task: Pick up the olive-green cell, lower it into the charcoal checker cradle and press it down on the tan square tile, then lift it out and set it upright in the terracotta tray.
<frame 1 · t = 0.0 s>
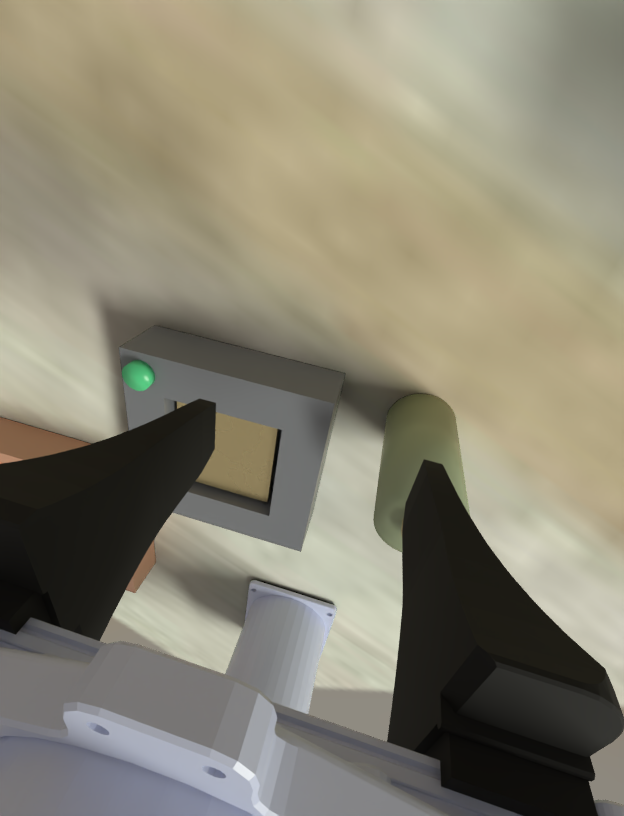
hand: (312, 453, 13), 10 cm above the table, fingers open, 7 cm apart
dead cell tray: (83, 495, 35), on the table
tan square tile: (226, 451, 25), point 3 cm above the table, slide at -0.2 cm
checker cradle: (241, 428, 27), on the table
olive cell: (420, 423, 23), on the table
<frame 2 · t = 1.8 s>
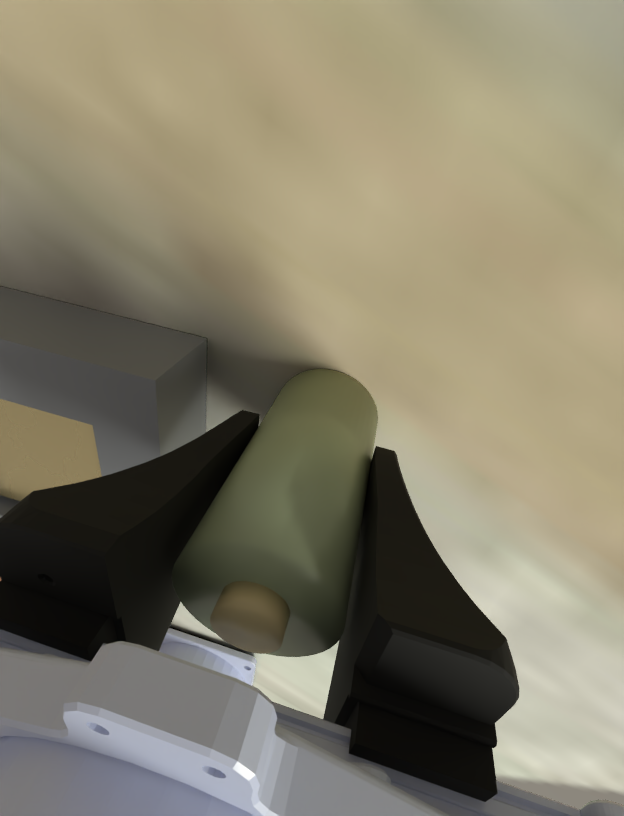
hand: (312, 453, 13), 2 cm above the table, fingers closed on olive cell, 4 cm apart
tan square tile: (45, 457, 17), point 3 cm above the table, slide at -0.2 cm
checker cradle: (87, 424, 19), on the table
olive cell: (326, 415, 15), on the table, touching gripper
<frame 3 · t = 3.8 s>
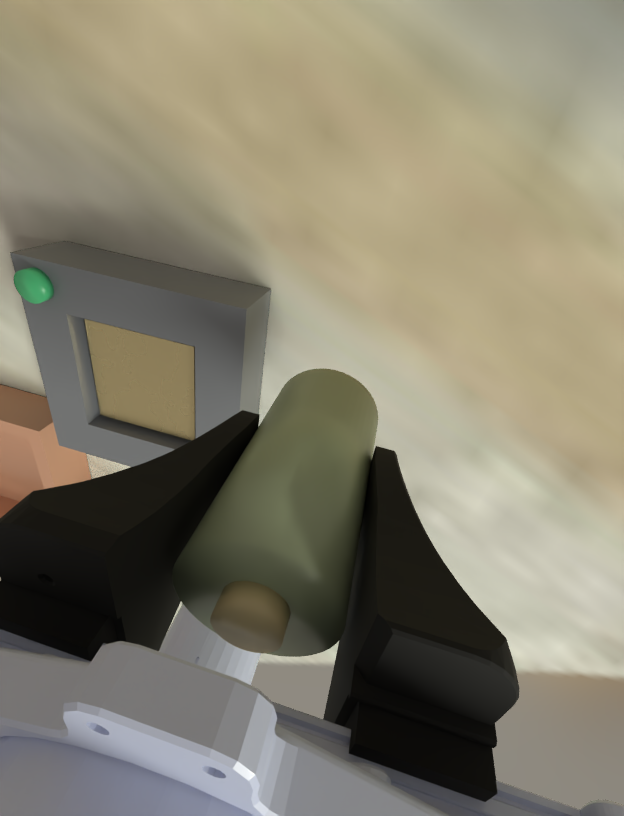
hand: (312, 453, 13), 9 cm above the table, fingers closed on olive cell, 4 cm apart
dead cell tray: (18, 450, 32), on the table
tan square tile: (146, 381, 22), point 3 cm above the table, slide at -0.2 cm
checker cradle: (169, 363, 24), on the table
olive cell: (326, 415, 15), point 7 cm above the table, touching gripper
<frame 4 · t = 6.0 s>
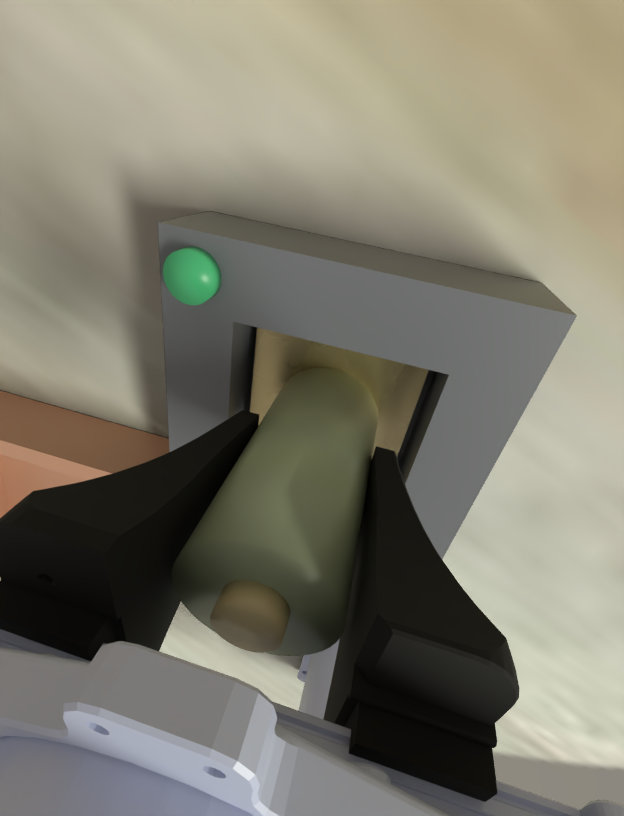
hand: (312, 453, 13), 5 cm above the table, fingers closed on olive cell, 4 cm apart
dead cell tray: (88, 493, 25), on the table
tan square tile: (327, 411, 16), point 2 cm above the table, slide at -0.8 cm, touching olive cell
checker cradle: (336, 389, 17), on the table
olive cell: (326, 414, 15), point 2 cm above the table, touching tan square tile, gripper
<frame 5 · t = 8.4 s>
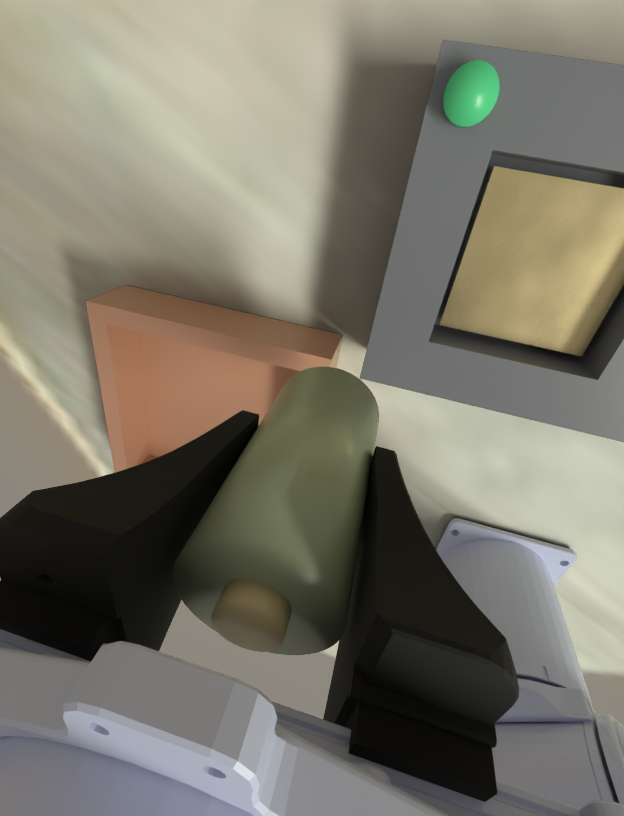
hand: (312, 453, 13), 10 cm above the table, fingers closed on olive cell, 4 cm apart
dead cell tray: (227, 404, 26), on the table
tan square tile: (539, 267, 16), point 2 cm above the table, slide at -0.8 cm
checker cradle: (529, 258, 18), on the table
olive cell: (327, 413, 15), point 7 cm above the table, touching gripper
when the fingers open (5 cm above the table, at t = 10.5 s): olive cell drops 2 cm, resting on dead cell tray.
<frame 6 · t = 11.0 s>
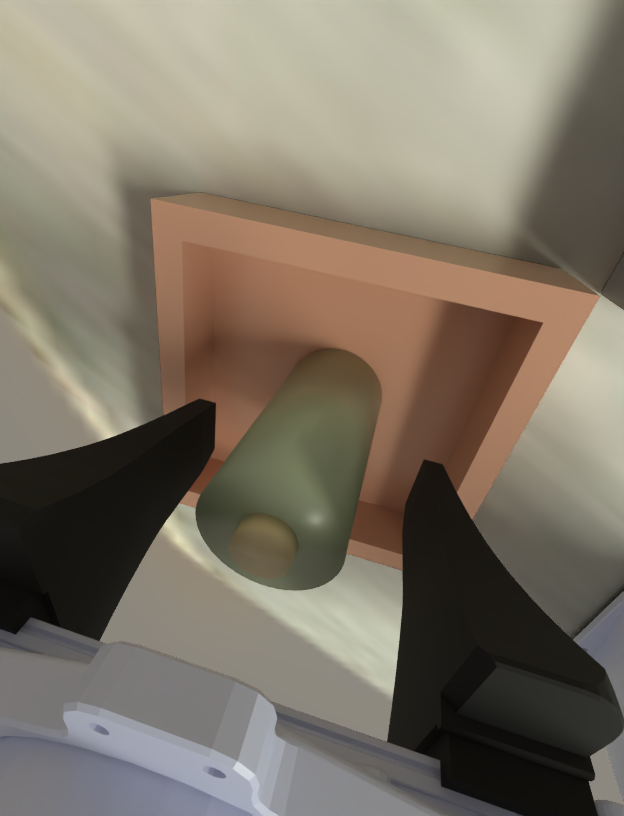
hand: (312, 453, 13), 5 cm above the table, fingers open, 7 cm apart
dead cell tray: (337, 386, 17), on the table
olive cell: (334, 393, 17), point 1 cm above the table, touching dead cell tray
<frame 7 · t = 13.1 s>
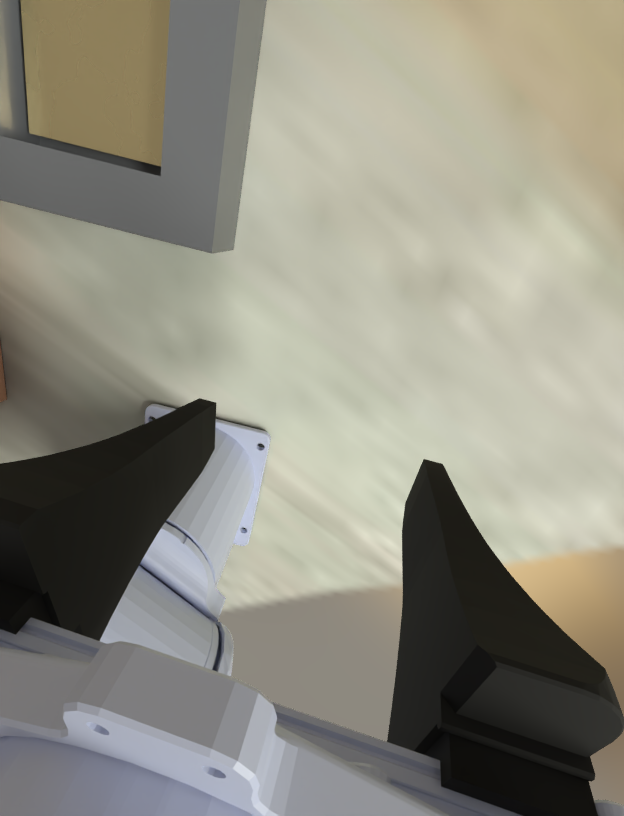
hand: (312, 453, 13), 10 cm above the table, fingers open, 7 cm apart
tan square tile: (101, 66, 16), point 2 cm above the table, slide at -0.8 cm
checker cradle: (125, 81, 18), on the table
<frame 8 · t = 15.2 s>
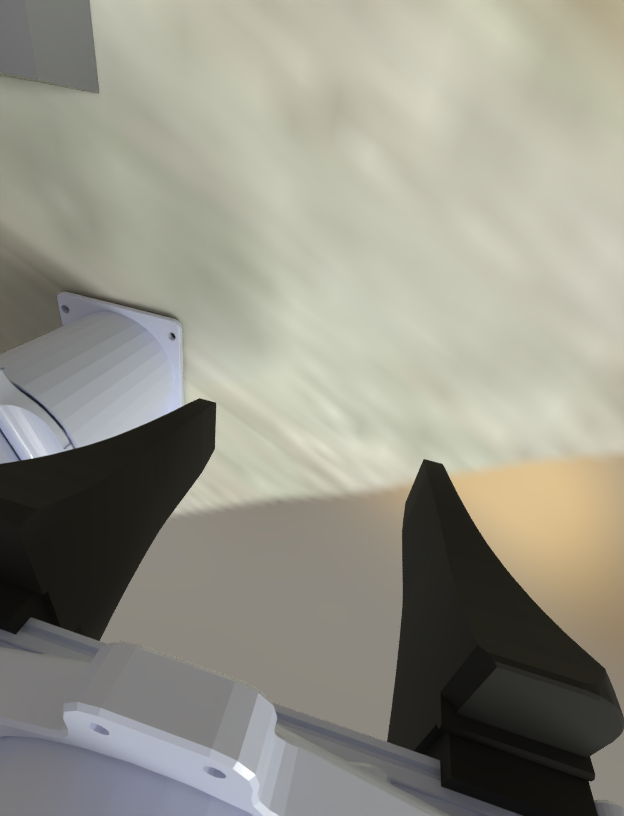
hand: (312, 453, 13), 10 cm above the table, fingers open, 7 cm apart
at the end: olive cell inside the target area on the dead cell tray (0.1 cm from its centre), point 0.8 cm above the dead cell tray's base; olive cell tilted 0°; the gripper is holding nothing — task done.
